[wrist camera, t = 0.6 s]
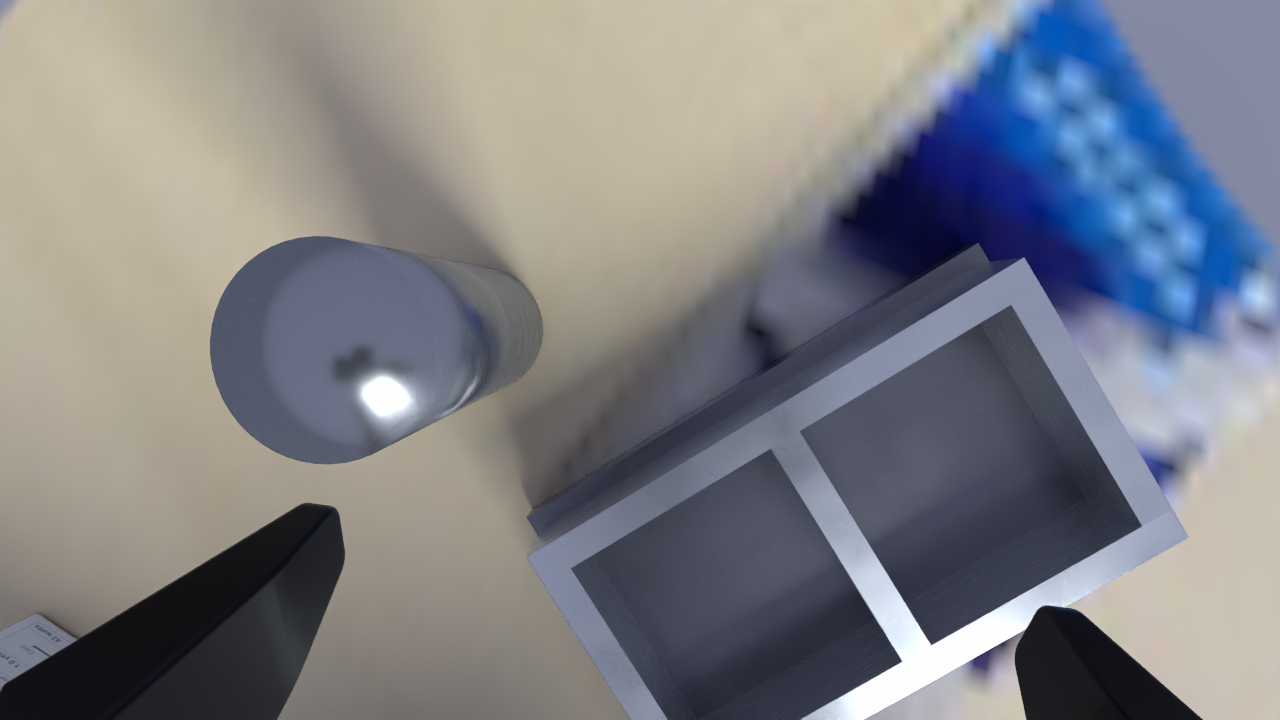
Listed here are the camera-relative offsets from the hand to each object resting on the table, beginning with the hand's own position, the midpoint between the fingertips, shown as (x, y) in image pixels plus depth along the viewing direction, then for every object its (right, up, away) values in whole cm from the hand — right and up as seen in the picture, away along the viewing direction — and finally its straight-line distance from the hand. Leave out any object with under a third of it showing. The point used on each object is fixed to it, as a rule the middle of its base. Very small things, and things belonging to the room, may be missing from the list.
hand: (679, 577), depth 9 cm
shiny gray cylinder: (-6, +4, +17) cm, 18 cm away
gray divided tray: (+6, -3, +17) cm, 18 cm away
